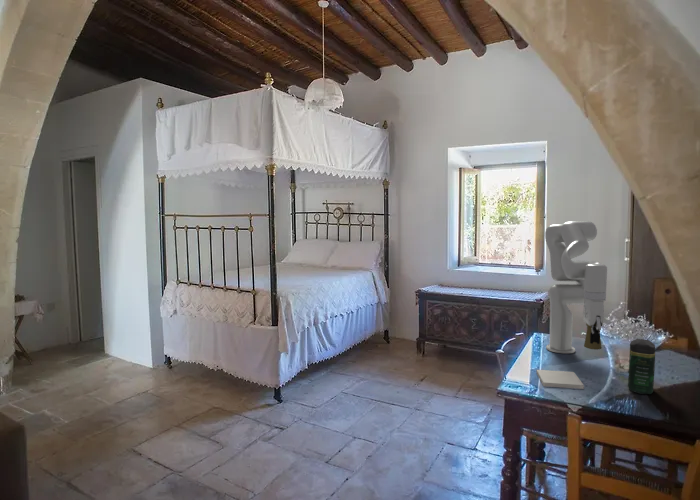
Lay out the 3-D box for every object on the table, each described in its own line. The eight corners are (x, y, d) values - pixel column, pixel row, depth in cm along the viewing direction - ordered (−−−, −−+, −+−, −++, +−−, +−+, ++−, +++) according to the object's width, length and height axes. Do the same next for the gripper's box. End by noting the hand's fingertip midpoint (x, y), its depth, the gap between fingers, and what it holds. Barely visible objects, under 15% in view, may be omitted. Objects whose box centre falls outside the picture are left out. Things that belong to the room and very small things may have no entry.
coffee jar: (653, 397, 156) (655, 345, 155) (627, 392, 161) (629, 342, 159) (653, 387, 164) (655, 339, 163) (628, 383, 169) (630, 336, 167)
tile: (536, 373, 181) (536, 369, 181) (573, 375, 178) (573, 371, 178) (543, 386, 167) (543, 382, 167) (583, 389, 164) (583, 385, 164)
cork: (603, 349, 170) (605, 321, 168) (586, 349, 171) (587, 321, 170) (598, 345, 175) (599, 317, 174) (581, 344, 177) (582, 317, 176)
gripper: (578, 291, 180) (576, 335, 182) (590, 300, 164) (588, 347, 166) (598, 291, 178) (596, 336, 180) (613, 300, 162) (611, 349, 164)
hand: (592, 341), depth 173 cm, fingers closed on cork, 3 cm apart
